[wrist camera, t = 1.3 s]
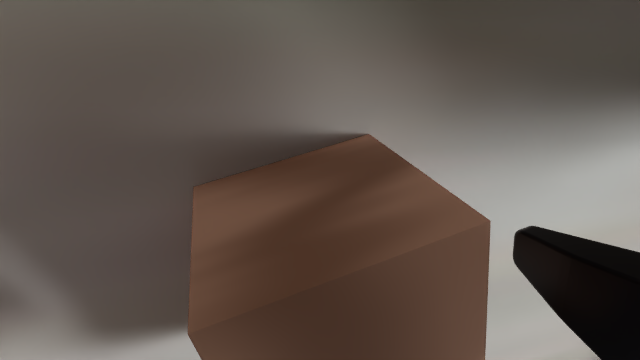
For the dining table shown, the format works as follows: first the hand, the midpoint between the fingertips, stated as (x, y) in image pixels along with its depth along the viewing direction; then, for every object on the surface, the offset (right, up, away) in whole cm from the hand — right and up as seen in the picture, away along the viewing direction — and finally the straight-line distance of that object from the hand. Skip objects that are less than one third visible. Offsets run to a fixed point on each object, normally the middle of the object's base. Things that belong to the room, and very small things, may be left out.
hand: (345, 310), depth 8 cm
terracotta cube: (-1, +1, +3) cm, 3 cm away
